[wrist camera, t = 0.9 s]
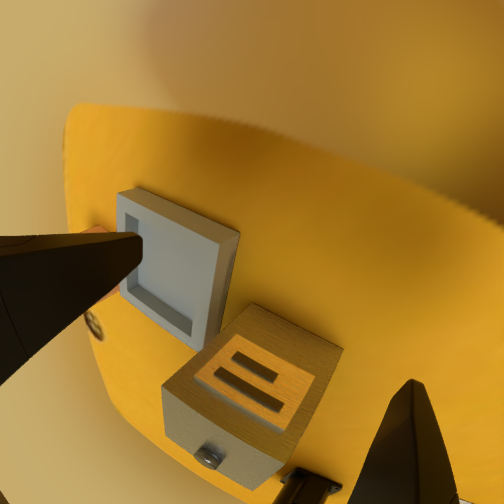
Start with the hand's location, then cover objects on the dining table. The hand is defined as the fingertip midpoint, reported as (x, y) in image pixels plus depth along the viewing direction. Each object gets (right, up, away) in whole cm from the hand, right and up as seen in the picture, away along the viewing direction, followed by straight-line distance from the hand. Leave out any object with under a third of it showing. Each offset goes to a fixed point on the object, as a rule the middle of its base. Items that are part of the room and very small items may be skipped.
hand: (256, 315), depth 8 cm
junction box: (+2, -6, +12) cm, 14 cm away
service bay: (-6, +1, +15) cm, 16 cm away
